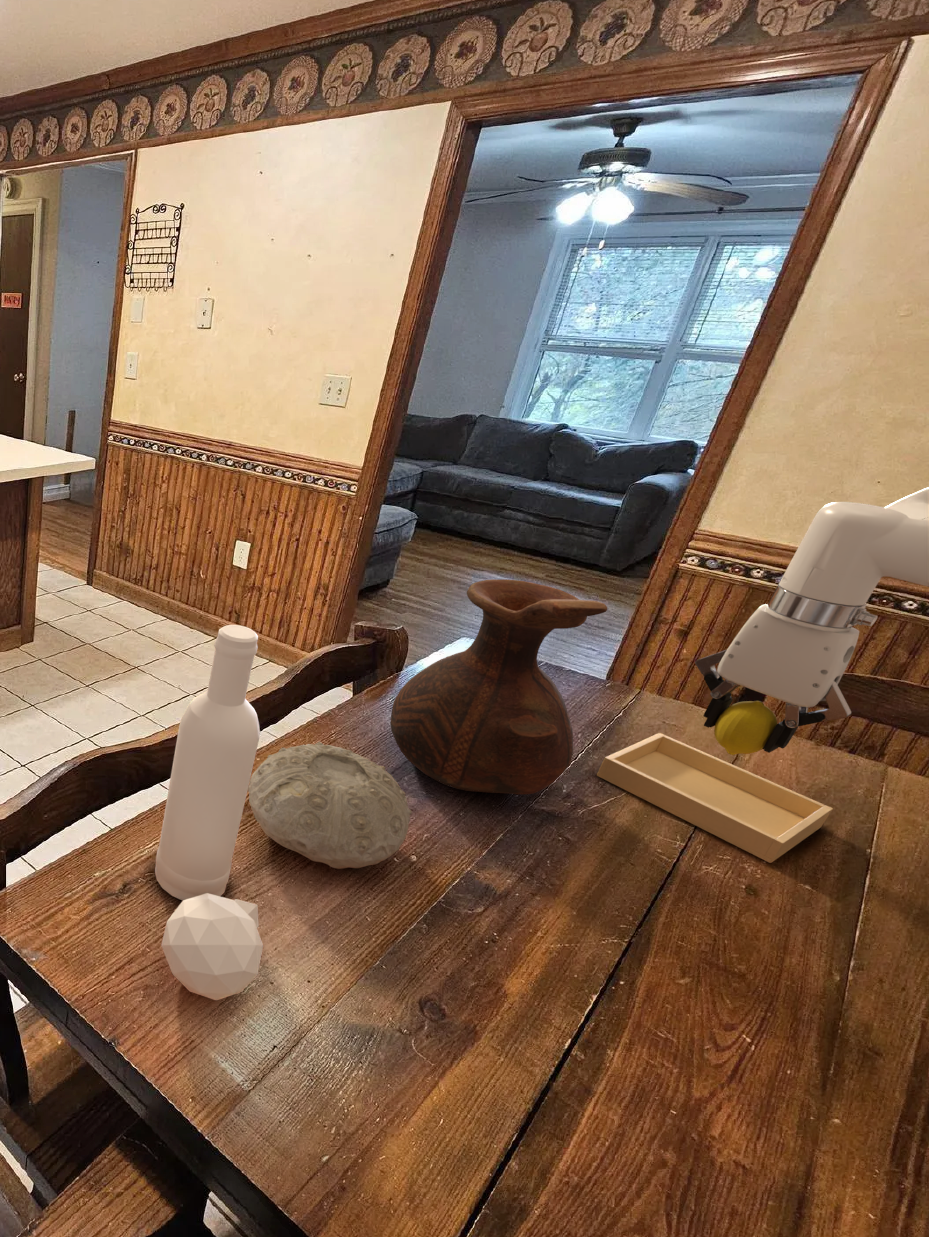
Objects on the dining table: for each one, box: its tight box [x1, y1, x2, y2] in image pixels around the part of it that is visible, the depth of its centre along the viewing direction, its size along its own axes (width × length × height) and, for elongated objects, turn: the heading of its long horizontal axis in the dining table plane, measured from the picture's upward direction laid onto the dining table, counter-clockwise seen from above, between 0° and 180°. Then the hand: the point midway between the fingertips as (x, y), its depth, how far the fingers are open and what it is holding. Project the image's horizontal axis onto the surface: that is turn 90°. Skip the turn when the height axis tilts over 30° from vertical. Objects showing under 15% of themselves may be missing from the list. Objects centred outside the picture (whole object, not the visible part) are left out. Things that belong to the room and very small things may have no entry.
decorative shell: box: [247, 741, 413, 870], centre depth 88 cm, size 18×18×10 cm
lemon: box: [713, 700, 778, 756], centre depth 96 cm, size 6×6×8 cm
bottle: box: [154, 624, 261, 901], centre depth 76 cm, size 8×8×30 cm
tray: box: [596, 732, 834, 864], centre depth 100 cm, size 20×16×3 cm
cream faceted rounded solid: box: [160, 893, 264, 1001], centre depth 69 cm, size 9×9×12 cm
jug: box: [390, 578, 608, 795], centre depth 98 cm, size 22×22×30 cm
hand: (740, 735), depth 96 cm, fingers closed on lemon, 5 cm apart
